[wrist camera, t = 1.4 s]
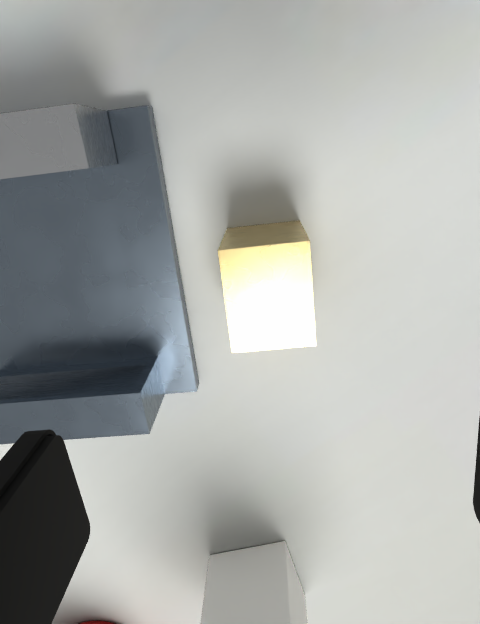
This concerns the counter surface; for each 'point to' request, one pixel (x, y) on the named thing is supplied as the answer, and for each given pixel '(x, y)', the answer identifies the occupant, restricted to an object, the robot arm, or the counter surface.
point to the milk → (253, 587)
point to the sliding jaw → (54, 140)
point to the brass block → (268, 286)
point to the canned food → (96, 622)
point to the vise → (92, 295)
